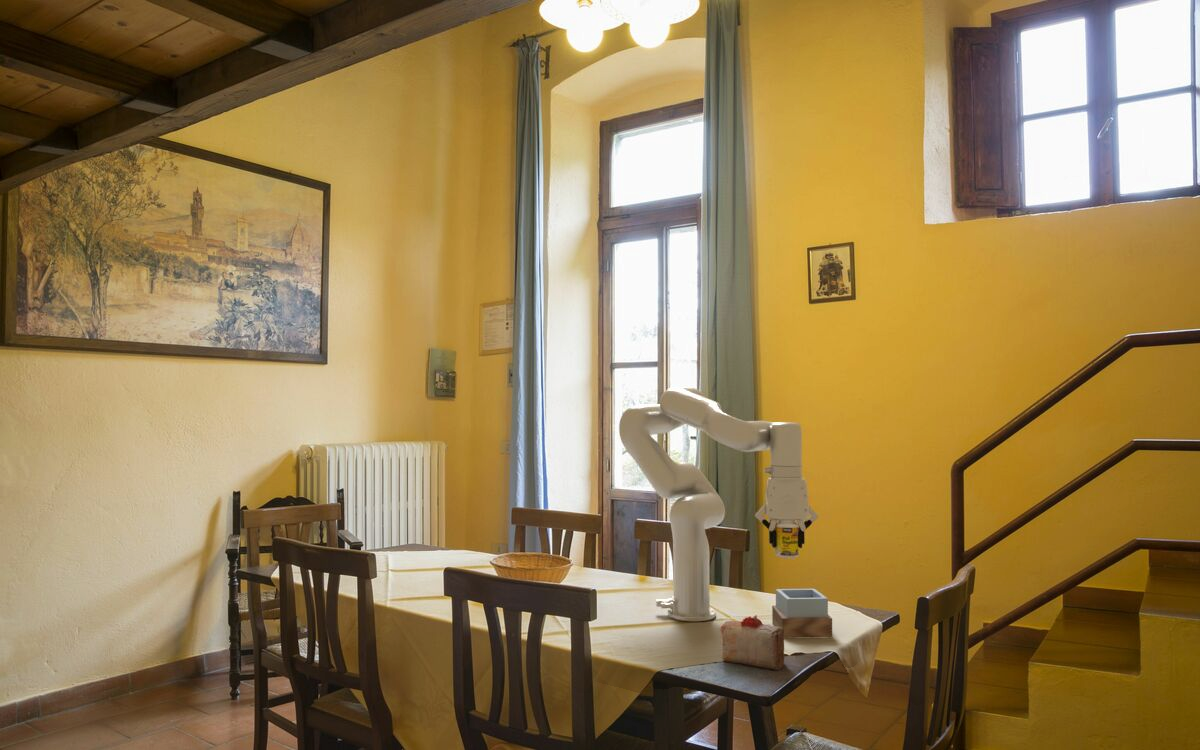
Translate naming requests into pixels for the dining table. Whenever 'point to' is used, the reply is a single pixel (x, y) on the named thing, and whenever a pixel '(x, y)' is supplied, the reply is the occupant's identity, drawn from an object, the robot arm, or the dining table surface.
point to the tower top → (801, 603)
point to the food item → (753, 643)
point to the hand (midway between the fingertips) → (786, 546)
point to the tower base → (802, 625)
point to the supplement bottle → (786, 539)
